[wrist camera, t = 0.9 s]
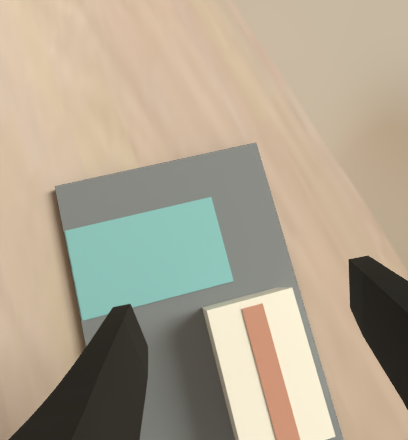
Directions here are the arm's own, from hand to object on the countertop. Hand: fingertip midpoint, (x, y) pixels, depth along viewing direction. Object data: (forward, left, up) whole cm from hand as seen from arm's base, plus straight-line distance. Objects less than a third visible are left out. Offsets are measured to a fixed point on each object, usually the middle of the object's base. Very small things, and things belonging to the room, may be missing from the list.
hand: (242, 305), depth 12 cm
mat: (0, +1, -12) cm, 13 cm away
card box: (-4, -2, -12) cm, 13 cm away
